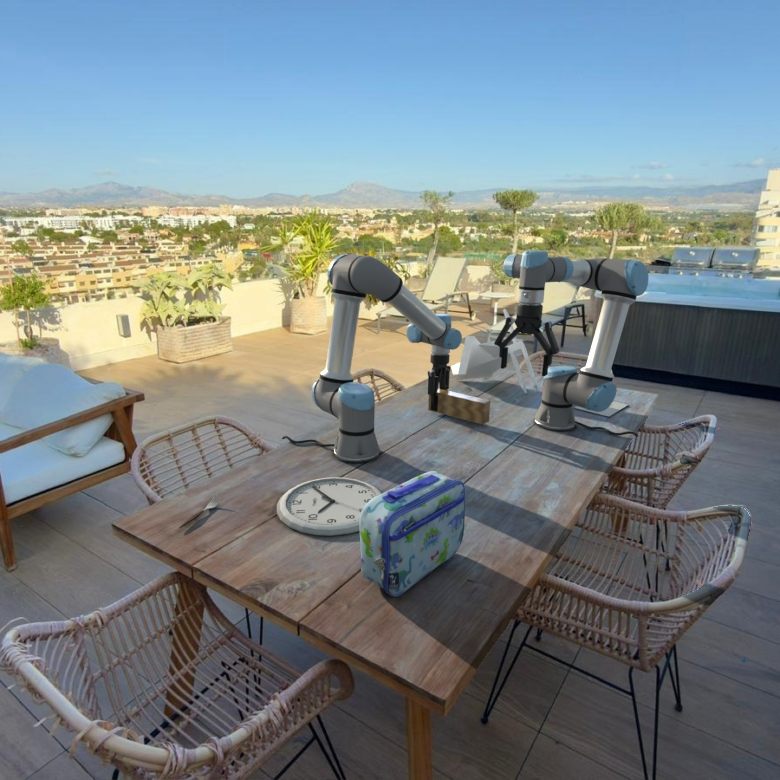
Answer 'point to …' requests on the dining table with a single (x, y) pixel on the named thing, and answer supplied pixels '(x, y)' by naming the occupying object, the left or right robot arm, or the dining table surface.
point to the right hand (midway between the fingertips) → (523, 371)
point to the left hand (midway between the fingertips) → (437, 408)
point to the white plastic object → (490, 359)
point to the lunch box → (411, 531)
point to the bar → (462, 406)
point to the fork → (209, 506)
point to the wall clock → (326, 505)
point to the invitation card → (609, 411)
